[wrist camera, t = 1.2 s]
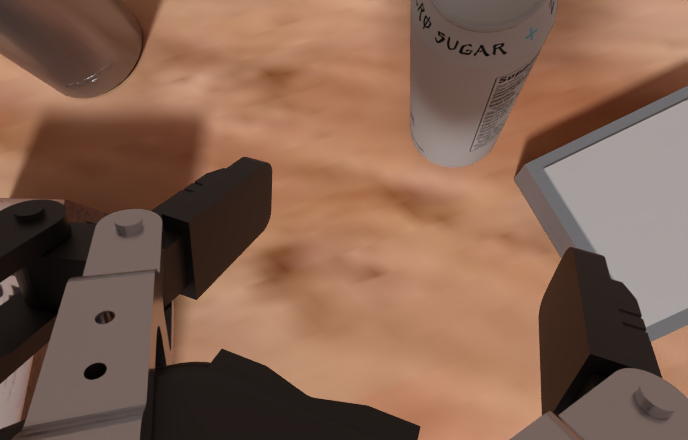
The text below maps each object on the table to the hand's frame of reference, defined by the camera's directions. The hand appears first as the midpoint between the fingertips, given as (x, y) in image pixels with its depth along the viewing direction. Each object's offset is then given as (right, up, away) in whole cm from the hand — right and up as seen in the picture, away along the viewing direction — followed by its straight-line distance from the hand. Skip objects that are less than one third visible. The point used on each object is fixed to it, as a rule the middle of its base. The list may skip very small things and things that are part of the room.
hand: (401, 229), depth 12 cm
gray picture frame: (+18, 0, +16) cm, 24 cm away
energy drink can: (+6, +6, +20) cm, 22 cm away
